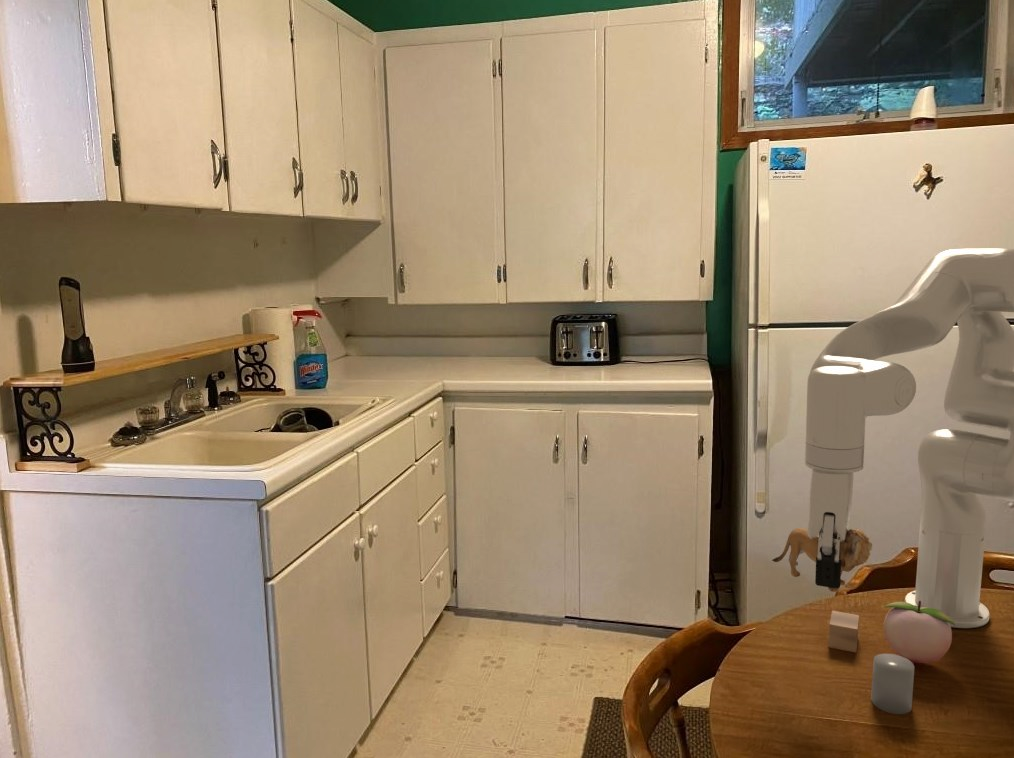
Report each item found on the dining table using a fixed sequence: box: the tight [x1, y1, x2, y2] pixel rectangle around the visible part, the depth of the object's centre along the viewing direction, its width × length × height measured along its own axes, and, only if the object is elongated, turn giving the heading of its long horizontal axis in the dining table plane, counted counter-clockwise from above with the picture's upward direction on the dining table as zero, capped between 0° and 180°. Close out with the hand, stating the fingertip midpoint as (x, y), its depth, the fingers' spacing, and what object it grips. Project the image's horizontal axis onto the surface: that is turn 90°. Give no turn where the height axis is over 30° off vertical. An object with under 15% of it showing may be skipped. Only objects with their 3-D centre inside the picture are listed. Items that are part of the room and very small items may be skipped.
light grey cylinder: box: [870, 653, 915, 715], centre depth 106 cm, size 5×5×6 cm
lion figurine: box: [771, 528, 873, 593], centre depth 112 cm, size 15×5×9 cm, turn 40°
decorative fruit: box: [882, 601, 955, 664], centre depth 115 cm, size 9×8×10 cm
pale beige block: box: [828, 610, 860, 653], centre depth 123 cm, size 5×4×4 cm
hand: (829, 575), depth 111 cm, fingers closed on lion figurine, 6 cm apart
